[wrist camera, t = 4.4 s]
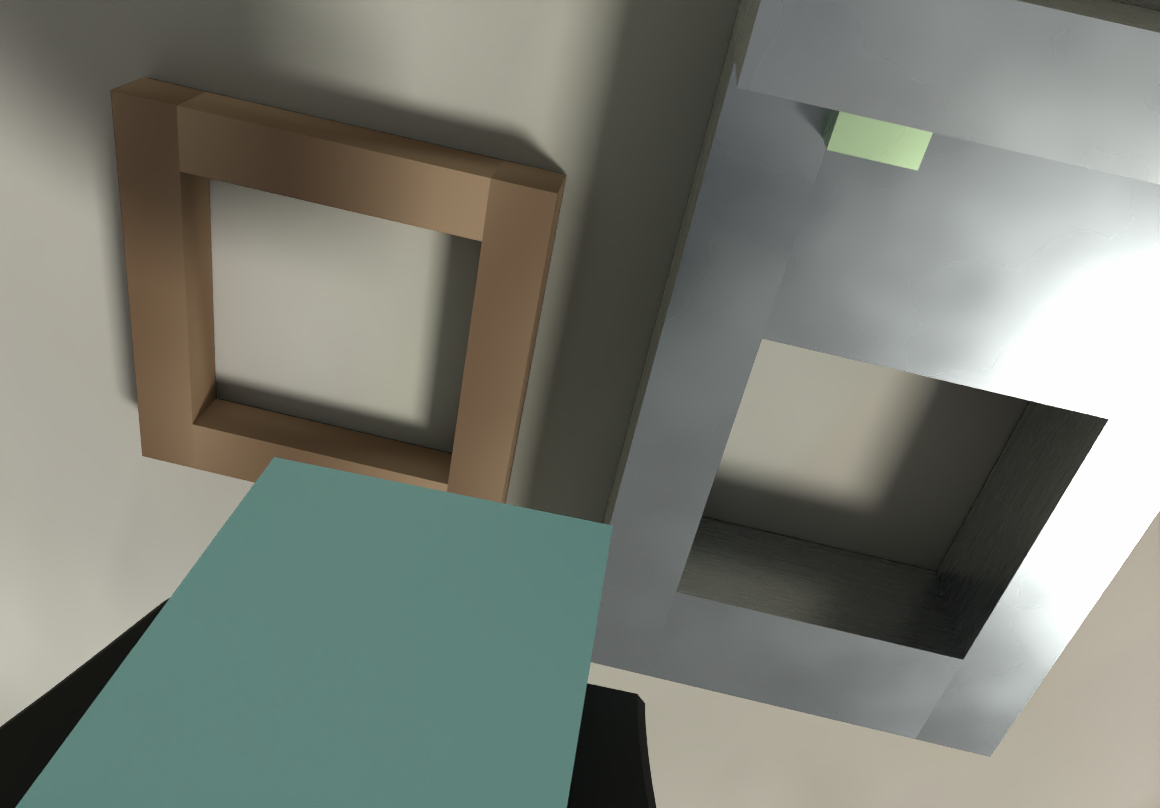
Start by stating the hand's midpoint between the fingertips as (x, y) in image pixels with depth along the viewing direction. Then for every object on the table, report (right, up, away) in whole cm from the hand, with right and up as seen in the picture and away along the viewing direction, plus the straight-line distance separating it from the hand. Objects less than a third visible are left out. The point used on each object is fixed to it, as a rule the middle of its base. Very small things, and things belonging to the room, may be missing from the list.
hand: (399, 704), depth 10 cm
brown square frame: (-3, +5, +7) cm, 9 cm away
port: (+8, +4, +6) cm, 11 cm away
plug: (0, +1, +1) cm, 1 cm away
